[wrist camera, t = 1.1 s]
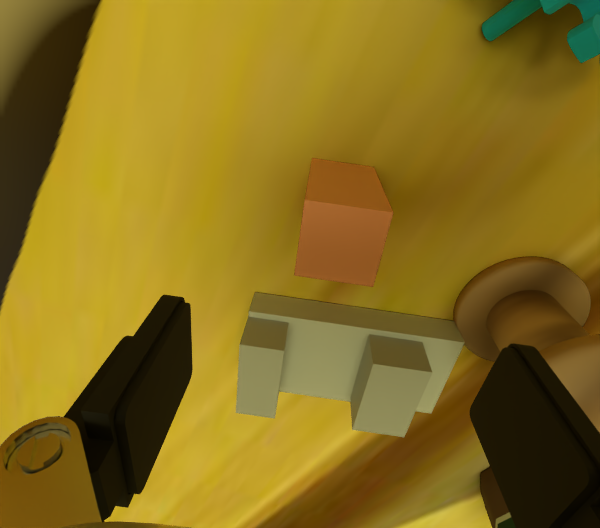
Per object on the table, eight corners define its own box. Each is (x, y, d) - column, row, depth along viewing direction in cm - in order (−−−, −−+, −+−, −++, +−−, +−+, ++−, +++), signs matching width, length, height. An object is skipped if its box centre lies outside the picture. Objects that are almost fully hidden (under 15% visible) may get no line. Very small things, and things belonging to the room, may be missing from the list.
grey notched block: (454, 321, 28) (479, 373, 23) (424, 389, 32) (440, 446, 27) (255, 292, 28) (240, 338, 23) (249, 364, 32) (235, 417, 27)
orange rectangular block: (373, 167, 23) (393, 212, 16) (360, 224, 25) (372, 286, 18) (312, 158, 23) (304, 199, 16) (304, 215, 25) (294, 275, 18)
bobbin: (605, 266, 25) (739, 365, 17) (545, 359, 29) (628, 472, 21) (478, 248, 25) (551, 338, 17) (437, 343, 29) (479, 451, 21)
